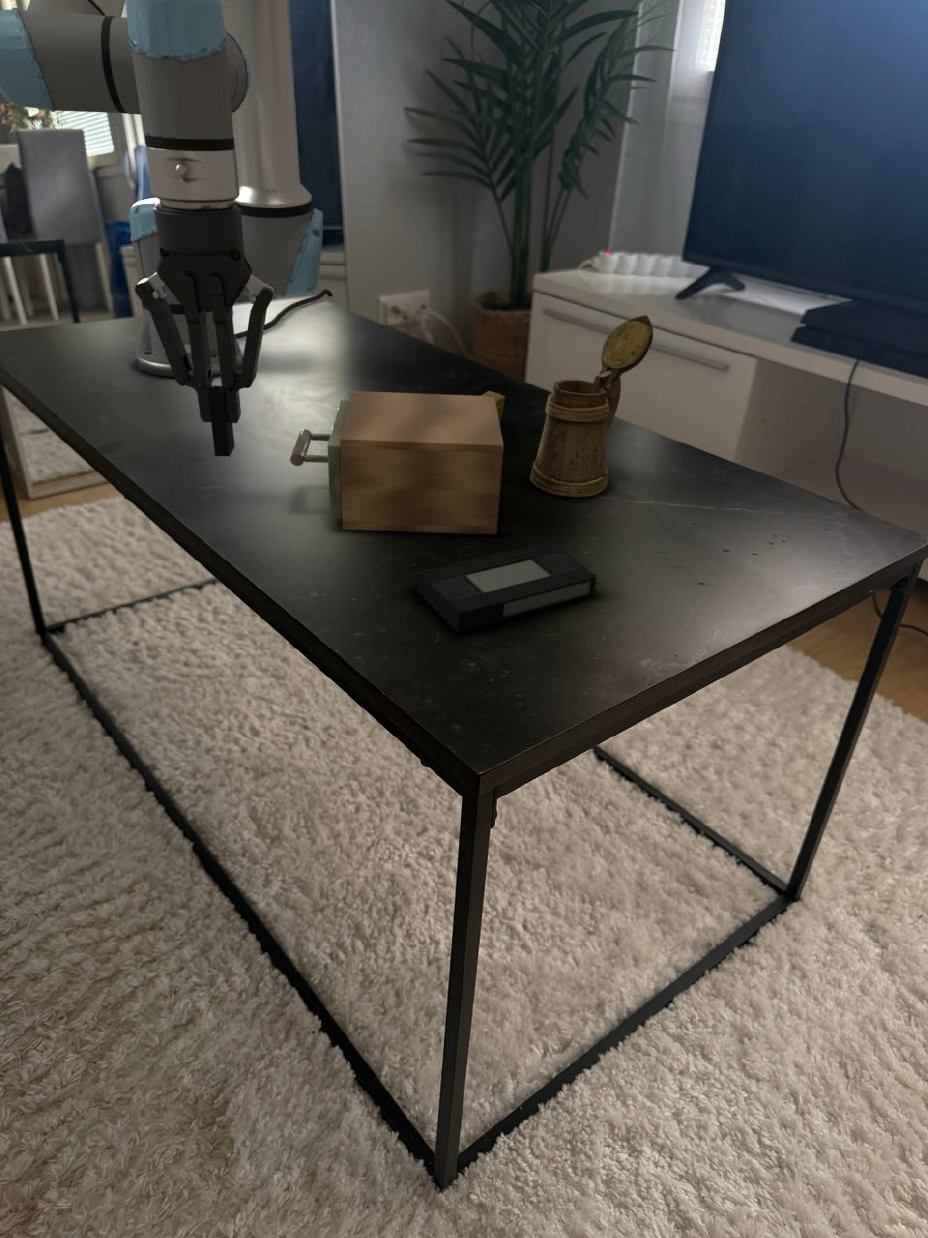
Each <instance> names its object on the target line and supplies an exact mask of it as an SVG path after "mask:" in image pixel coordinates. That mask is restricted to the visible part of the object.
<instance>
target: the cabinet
mask: <svg viewBox="0 0 928 1238" xmlns="http://www.w3.org/2000/svg"><path fill="white" fill-rule="evenodd" d="M349 401H350V403H349V407H348V411H347V415H346V419H345V423H344V426H343V430H342V434H341V438H340V447H341V448H340V450H341V481H342V512H343V517H342V530H346V531H347V530H348V531H376V532H377V531H378V532H380V531H381V532H408V533H409V532H412V533H442V534H443V533H445V534H474V535H497V533H498V520H499V507H500V495H501V494H500V493H501V484H502V471H503V470H502V468H503V456H504V447H505V446H504V441H503V435H502V430H501V425H500V423H499V419H498V414H497V408H496V403H495V398H494V397H492V396H481V395H465V394H442V393H418V392H417V393H415V392H414V393H413V392H389V391H388V392H386V391H362V390H352V392H351V396H350V400H349Z"/></svg>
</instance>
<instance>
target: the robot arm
mask: <svg viewBox="0 0 928 1238" xmlns="http://www.w3.org/2000/svg"><path fill="white" fill-rule="evenodd" d="M125 6H126V17H124V16H123V17H122V15H123V13H124V12H123V11H124V8H125ZM290 8H291V7H290V0H29V2H28V5H27V8H26V10H24V9H19V7H16V6H15V7H12V8H11V9H0V92H1V94H2V95H3V97H4V98H5V99H6V100H7V101H9V102H10V103H11V104H13V105H15V106H18V107H21V108H30V109H39V110H48V111H50V112H51V113H56V112H78V113H81V112H83V113H106V114H107V113H109V114H124V115H125V114H126V115H140V118H141V125H142V126H141V127H142V132H143V140H144V144H145V145H144V151H145V156H146V163H147V164H146V165H147V170H148V177H149V186H150V192H151V195H152V196H153V197H152V198H147V199H143V200H140V201H137V202H135V203H134V204H133V205H132V206H131V208H130V210H129V216H128V217H129V226H130V227H129V228H130V234H131V235H130V238H129V239H130V242H131V243H132V250H133V257H134V263H135V269H136V270H135V271H136V275H137V282H138V283H137V284H136V285H135V286H134V292H135V294H136V296H137V297H138V298H139V299H140V300H141V308H142V317H141V321H140V322H141V323H140V327H139V335H138V340H137V347H136V353H135V354H136V360H137V366H138V368H139V369H140V370H142V371H144V372H146V373H148V374H151V375H154V376H160V377H169V378H174V379H175V381H176V383H177V384H178V385H179V386H182V387H187V386H188V387H189V388H191V389H194V391H195V392H196V394H197V400H198V409H199V416H200V419H201V422H202V423H210V424H211V434H212V441H213V450H214V456H215V457H231V455H232V453H233V451H234V449H235V447H236V445H235V437H234V436H235V435H234V429H233V424H238V422H239V420H240V418H241V415H242V410H241V399H240V390H243V389H249V388H251V387H252V385H253V383H254V382H255V379H256V378H257V374H258V368H259V367H258V366H259V360H260V355H261V348H262V344H263V343H262V342H263V337H264V332H265V331H267V330H270V329H271V328H274V327H275V326H276V325H277V324H278V323H279V322H280V321H281V319H282V318H283V317H285V316H286V315H287V314H288V313H290V312H291V311H292V310H295V309H296V308H299V307H302V306H304V305H307V304H310V303H313V302H316V301H318V300H321V298H323V297H324V296H325V295H327V297H330V298H331V297H334V295H333V293H332V292H331V290H330V289H328V288H325V289H322V290H321V291H319V292H318V293H316V294H315V295H312V294H313V293H314V292H315V291H316V289H317V288H318V287H317V286H318V282H319V276H320V267H321V256H322V246H323V236H324V235H323V233H324V212H323V211H321V210H320V209H317V208H314V209H313V198H312V197H313V196H312V194H311V193H310V192H309V191H308V189H307V188H306V187H305V186H304V185H303V184H302V183H301V177H300V161H299V158H300V157H299V141H298V128H297V126H298V125H297V110H296V109H297V108H296V94H295V93H296V92H295V76H294V61H293V60H294V59H293V43H292V42H293V41H292V27H291V11H290ZM241 295H242V296H248V297H247V299H248V301H249V303H250V304H252V305H251V309H250V312H249V317H248V323H247V330H243V331H239V332H236V333H235V330H234V319H233V316H234V309H233V308H234V307H233V306H235V304H236V303H237V301H238V299H239V298H240V296H241ZM310 295H312V296H310ZM307 296H310V297H307ZM274 297H283V298H288V297H307V298H304V299H300V300H297V301H295V302H293V303H291V304H289V305H287V306H286V307H284V308H283V309H282V310H281V311H280V312H278V313H277V314H276V316H275V317H274V318H273V319H272V320H271V321H269V322H266V319H267V318H266V317H267V312H268V308H269V306H270V304H271V302H272V301H273V299H274ZM243 338H245V343H244V350H243V357H242V350H241V347H240V345H239V342H238V340H239V339H243ZM240 366H241V370H240V372H239V369H238V368H239V367H240ZM217 375H220V382H221V385H213V382H214V381H215V377H214V376H217Z"/></svg>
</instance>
